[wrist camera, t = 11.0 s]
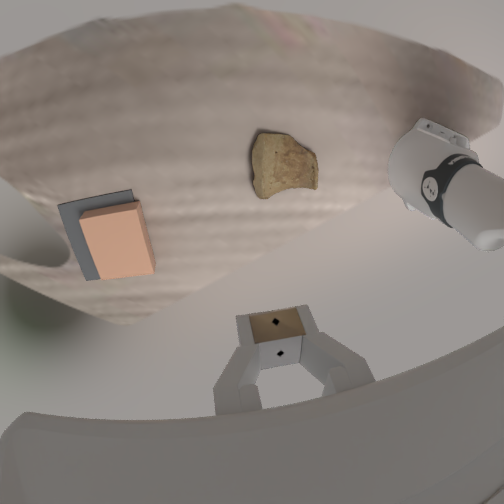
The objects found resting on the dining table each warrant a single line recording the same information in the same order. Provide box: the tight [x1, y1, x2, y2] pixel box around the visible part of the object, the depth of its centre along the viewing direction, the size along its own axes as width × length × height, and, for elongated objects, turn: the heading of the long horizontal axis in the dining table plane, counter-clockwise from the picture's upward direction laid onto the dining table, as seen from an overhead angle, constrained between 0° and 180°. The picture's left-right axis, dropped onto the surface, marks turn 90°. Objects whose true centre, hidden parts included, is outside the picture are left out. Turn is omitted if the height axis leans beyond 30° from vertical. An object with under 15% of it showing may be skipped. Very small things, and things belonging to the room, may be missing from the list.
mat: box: [58, 190, 134, 281], centre depth 47 cm, size 14×16×1 cm
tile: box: [79, 201, 156, 280], centre depth 46 cm, size 3×12×10 cm
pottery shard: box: [252, 133, 318, 199], centre depth 43 cm, size 11×4×10 cm
